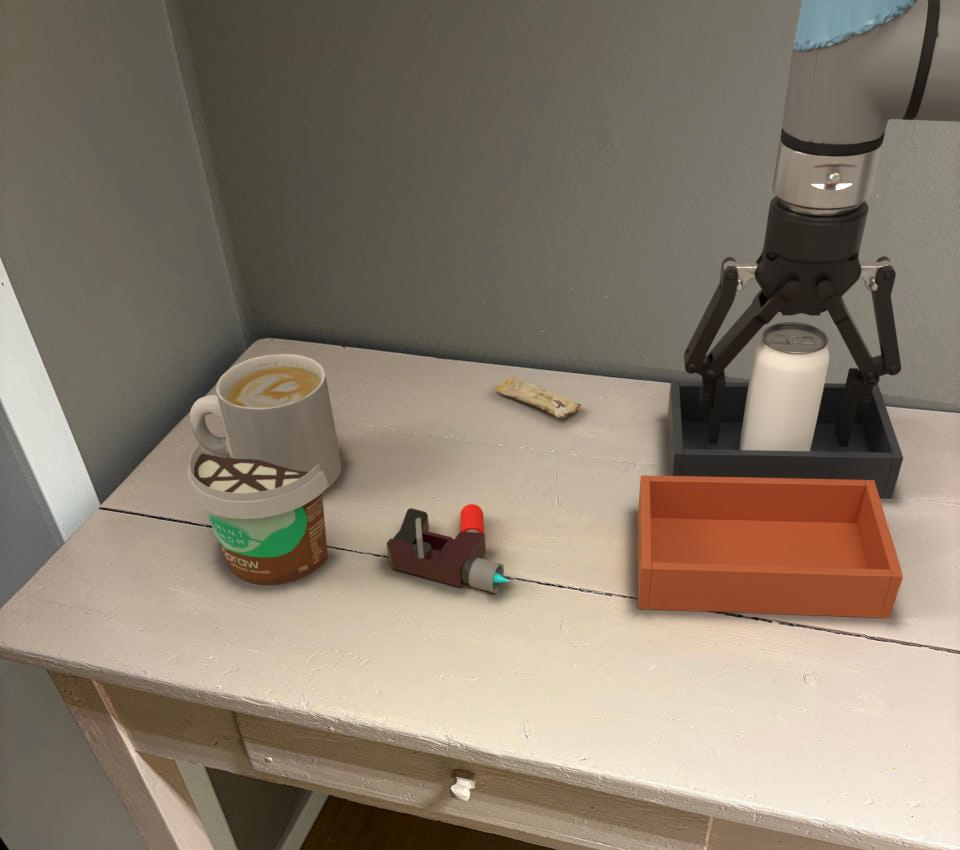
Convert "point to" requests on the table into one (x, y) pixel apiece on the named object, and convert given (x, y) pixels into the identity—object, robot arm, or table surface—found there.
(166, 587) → the table surface
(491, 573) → the toy gun
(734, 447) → the grey bin
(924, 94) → the robot arm
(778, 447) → the can
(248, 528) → the food container
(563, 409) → the snack bar
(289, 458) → the coffee mug
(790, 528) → the terracotta bin
